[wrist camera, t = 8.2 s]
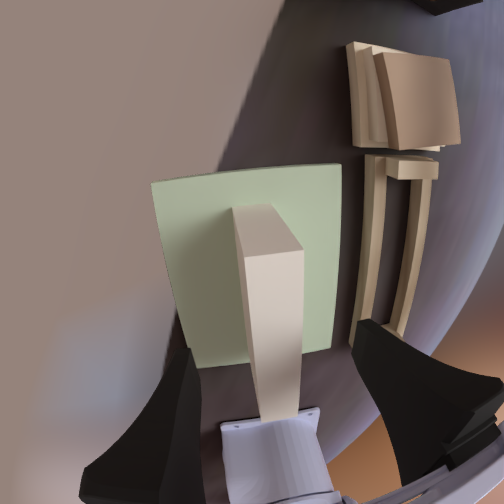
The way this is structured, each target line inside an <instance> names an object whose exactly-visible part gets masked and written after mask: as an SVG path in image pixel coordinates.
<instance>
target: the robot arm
mask: <svg viewBox="0 0 504 504" xmlns="http://www.w3.org/2000/svg"><path fill="white" fill-rule="evenodd" d="M351 354H352V357H353V360H354V362H355V365H356V367H357V370H358V372H359V374H360V376H361V378H362V380H363V382H364V383H365V385H366V387H367V389H368V391H369V392H370V394H371V396H372V398H373V400H374V401H375V403H376V405H377V407H378V409H379V411H380V413H381V415H382V418H383V420H384V423H385V426H386V428H387V431H388V434H389V437H390V440H391V443H392V446H393V449H394V453H395V456H396V460H397V464H398V469H399V473H400V478H401V484H402V487H401V488H399V489H398V490H395V491H393V492H390V493H388V494H385V495H383V496H381V497H378V498H376V499H373V500H370V501H368V502H365V503H362V504H402V503H404V502H406V501H408V500H410V499H412V498H414V497H416V496H418V495H420V494H422V493H423V494H422V495H421V496H420V497H419V498H417V499H415V500H413V501H411V502H410V503H408V504H475V503H477V502H478V501H479V500H480V499H481V498H483V497H484V496H485V495H486V494H487V493H489V492H490V491H491V490H492V489H493V488H494V487H495V486H497V485H498V484H499V483H500V482H501V481H502V480H503V479H504V421H503V422H501V423H500V424H499V425H498V426H497V425H496V424H495V422H496V421H497V418H496V416H495V415H494V414H495V413H496V411H497V410H498V409H499V407H500V406H501V405H502V404H503V402H504V383H503V382H502V381H501V379H500V378H496V377H490V376H484V375H479V374H475V373H470V372H467V371H464V370H461V369H458V368H455V367H452V366H449V365H447V364H444V363H442V362H440V361H438V360H436V359H433V358H431V357H429V356H428V355H426V354H424V353H422V352H420V351H419V350H417V349H415V348H413V347H412V346H410V345H408V344H407V343H405V342H404V341H402V340H401V339H399V338H398V337H396V336H395V335H393V334H392V333H390V332H389V331H387V330H386V329H385V328H383V327H382V326H380V325H379V324H377V323H376V322H374V321H373V320H371V319H370V318H368V319H364V320H359V321H357V325H356V331H355V337H354V342H353V348H352V353H351ZM201 401H202V399H201V384H200V377H199V374H198V371H197V367H196V364H195V361H194V357H193V354H192V350H191V348H180V349H176V350H175V351H174V353H173V356H172V358H171V360H170V362H169V365H168V367H167V369H166V371H165V373H164V375H163V377H162V379H161V380H160V382H159V384H158V386H157V388H156V390H155V391H154V393H153V395H152V396H151V398H150V400H149V401H148V403H147V404H146V406H145V407H144V409H143V410H142V412H141V413H140V414H139V416H138V417H137V418H136V420H135V421H134V422H133V424H132V425H131V426H130V427H129V428H128V429H127V431H126V432H125V433H124V434H123V435H122V436H121V437H120V438H119V440H117V441H116V442H115V443H114V444H113V445H112V446H111V447H110V448H109V449H108V450H107V451H106V452H105V453H104V454H102V455H101V456H100V457H99V458H97V459H96V460H95V461H94V462H92V463H91V464H90V465H88V466H87V467H85V468H84V472H83V475H82V479H81V484H80V491H79V498H80V499H81V501H83V502H84V503H86V504H206V501H205V494H204V487H203V479H202V470H201V460H200V423H201ZM319 415H320V410H319V408H317V407H315V408H311V409H306V410H301V411H298V416H297V417H292V418H287V419H282V420H276V421H270V422H264V423H261V418H256V419H249V420H241V421H233V422H224V423H221V424H220V428H221V431H222V443H223V450H222V455H223V461H224V465H225V474H226V483H227V489H228V495H229V500H230V504H358V503H357V502H356V501H355V500H354V499H352V498H350V497H348V496H342V497H341V495H340V493H339V491H334V489H333V485H332V483H331V479H330V476H329V473H328V470H327V467H326V464H325V461H324V458H323V455H322V452H321V449H320V446H319V443H318V440H317V437H316V430H317V425H318V420H319Z"/></svg>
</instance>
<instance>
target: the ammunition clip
mask: <svg viewBox="0 0 504 504" xmlns="http://www.w3.org/2000/svg"><path fill="white" fill-rule="evenodd" d="M411 1H413V2H414V3H416V4H418V5H419V6H421V7H423V8H424V9H426V10H427V11H429V12H430V13H432V14H433V15H435V16H437V15H440V14H443V13H446V12H449V11H452V10H456V9H459V8H462V7H466V6H469V5H473V4H477V3H481V2H483V0H411Z"/></svg>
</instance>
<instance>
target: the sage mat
mask: <svg viewBox="0 0 504 504" xmlns="http://www.w3.org/2000/svg"><path fill="white" fill-rule="evenodd" d="M341 183H342V173H341V164H338V163H326V164H305V165H289V166H275V167H263V168H251V169H241V170H232V171H223V172H214V173H207V174H199V175H192V176H185V177H177V178H172V179H165V180H159V181H153V182H152V183H151V190H152V196H153V202H154V208H155V213H156V218H157V224H158V229H159V234H160V238H161V243H162V248H163V252H164V257H165V262H166V266H167V271H168V275H169V279H170V283H171V287H172V291H173V295H174V299H175V303H176V307H177V311H178V314H179V318H180V322H181V325H182V329H183V333H184V336H185V340H186V343H187V346H188V348H191V350H192V354H193V357H194V361H195V364H196V367H197V368H206V367H216V366H225V365H233V364H241V363H248V362H250V358H249V353H248V345H247V337H246V329H245V320H244V312H243V303H242V295H241V286H240V277H239V268H238V259H237V250H236V241H235V231H234V222H233V212H232V207H236V206H245V205H254V204H263V203H271V204H272V206H273V207H274V208H275V210H276V211H277V213H278V214H279V215H280V217H281V218H282V219H283V221H284V222H285V224H286V225H287V226H288V228H289V229H290V231H291V232H292V233H293V235H294V236H295V238H296V239H297V240H298V242H299V243H300V245H301V246H302V247H303V249H304V306H303V337H302V353H308V352H313V351H317V350H322V349H327V348H330V347H331V339H332V331H333V322H334V313H335V303H336V292H337V280H338V266H339V250H340V229H341Z"/></svg>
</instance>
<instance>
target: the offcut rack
mask: <svg viewBox="0 0 504 504" xmlns="http://www.w3.org/2000/svg"><path fill="white" fill-rule="evenodd" d="M346 52H347V61H348V71H349V83H350V96H351V113H352V140H353V146H357V147H376V148H391V149H396V150H406V149H418V150H432V151H440V146H443V147H445V145H452V144H461V141H460V128H459V118H458V110H457V102H456V95H455V89H454V83H453V77H452V72H451V67H450V63H449V59H443V58H437V57H430V56H422V55H414V54H410V53H407V52H403V51H399V50H394V49H390V48H385V47H381V46H376V45H370V44H365V43H359V42H352V43H350V44H348V45H346ZM438 164H439V162H436V161H433V159H431V158H428V157H424V156H415V155H389V154H365V184H364V210H363V227H362V241H361V253H360V263H359V273H358V282H357V290H356V298H355V305H354V312H353V319H352V325H351V331H350V337H349V344H350V346H351V347H352V348H353V342H354V337H355V331H356V325H357V321H359V320H364V319H368V318H371V313H372V307H373V302H374V296H375V290H376V283H377V277H378V270H379V262H380V255H381V246H382V237H383V227H384V215H385V201H386V181H387V175H388V176H391V177H393V178H396V179H411V190H410V203H409V213H408V223H407V231H406V239H405V246H404V253H403V259H402V265H401V271H400V277H399V282H398V287H397V292H396V297H395V301H394V306H393V310H392V315H391V319H390V323H388V324H384V325H380V326H382V327H383V328H385V329H386V330H387V331H389V332H390V333H392V334H393V335H395V336H396V337H398V338H399V339H401V340H402V341H404V340H403V338H402V336H403V333H404V330H405V326H406V323H407V319H408V316H409V312H410V308H411V304H412V300H413V296H414V292H415V288H416V283H417V279H418V274H419V269H420V264H421V259H422V253H423V248H424V241H425V235H426V228H427V221H428V213H429V204H430V194H431V182H432V179H438ZM404 342H405V341H404Z"/></svg>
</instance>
